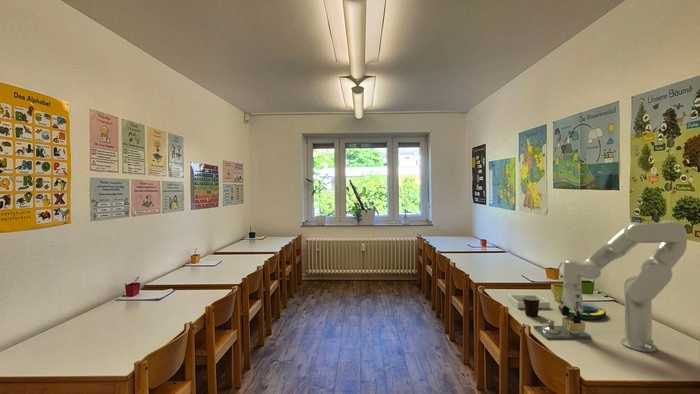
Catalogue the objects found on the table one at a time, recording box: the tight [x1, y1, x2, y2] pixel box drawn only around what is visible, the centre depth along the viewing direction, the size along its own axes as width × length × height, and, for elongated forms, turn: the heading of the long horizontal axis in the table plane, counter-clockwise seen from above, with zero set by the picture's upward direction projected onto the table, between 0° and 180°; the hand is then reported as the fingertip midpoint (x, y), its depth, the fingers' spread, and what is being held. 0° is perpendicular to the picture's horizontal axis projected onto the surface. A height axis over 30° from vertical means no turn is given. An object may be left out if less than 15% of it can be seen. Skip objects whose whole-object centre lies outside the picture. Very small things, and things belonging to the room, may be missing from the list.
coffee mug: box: [522, 296, 540, 318], centre depth 203 cm, size 12×9×10 cm
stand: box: [567, 329, 580, 334], centre depth 176 cm, size 5×5×6 cm
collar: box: [561, 316, 586, 332], centre depth 176 cm, size 7×7×4 cm
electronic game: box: [558, 303, 607, 320], centre depth 205 cm, size 23×23×5 cm
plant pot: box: [550, 283, 564, 303], centre depth 229 cm, size 10×10×10 cm
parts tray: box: [506, 293, 551, 310], centre depth 223 cm, size 16×19×4 cm
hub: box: [541, 319, 560, 333], centre depth 179 cm, size 8×8×6 cm
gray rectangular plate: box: [533, 325, 592, 340], centre depth 178 cm, size 13×21×2 cm, turn 87°
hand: (571, 319), depth 176 cm, fingers open, 9 cm apart
